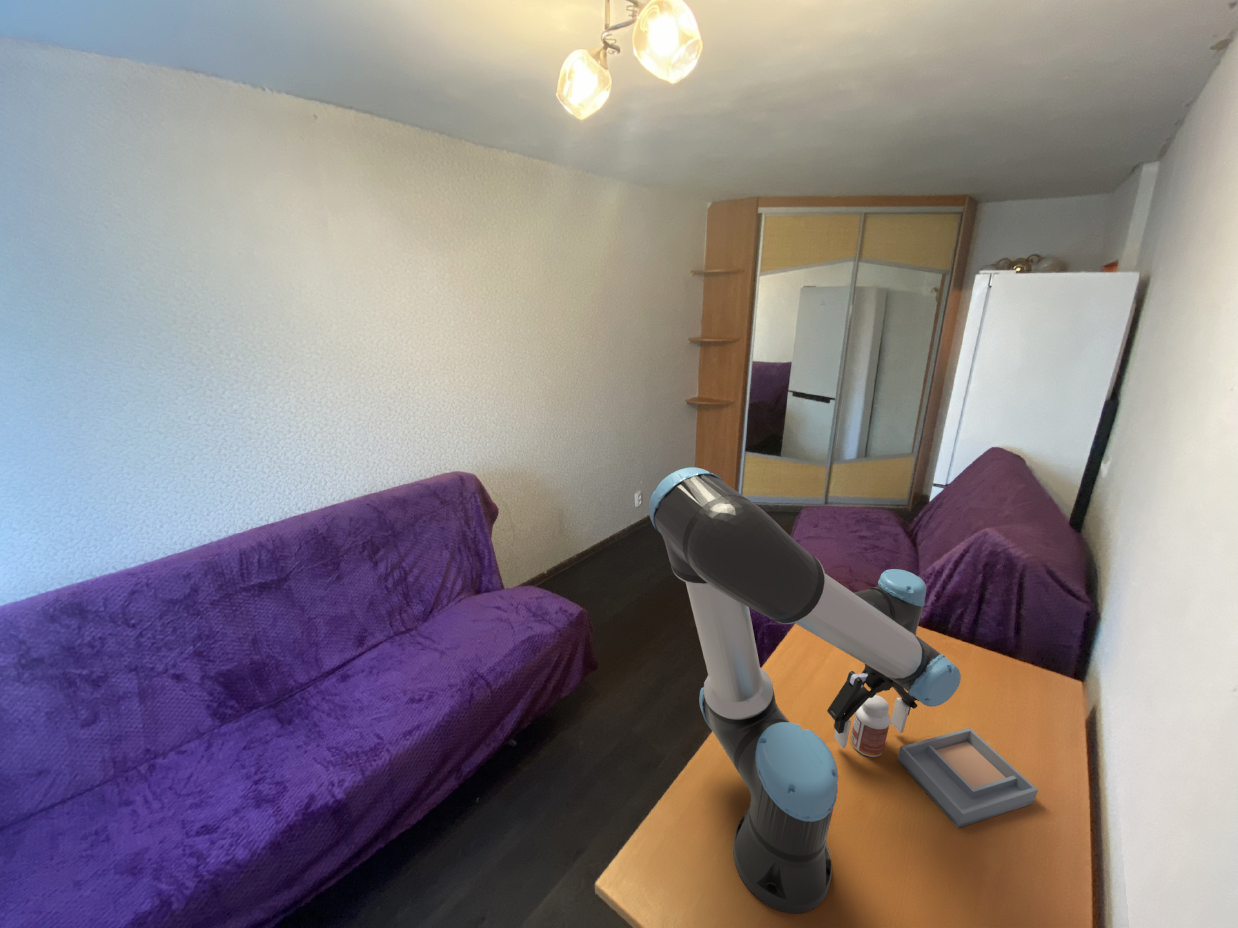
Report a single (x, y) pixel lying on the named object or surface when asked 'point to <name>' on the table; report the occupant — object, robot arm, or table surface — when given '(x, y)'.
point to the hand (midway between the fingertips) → (868, 734)
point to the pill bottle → (871, 727)
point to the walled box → (966, 777)
